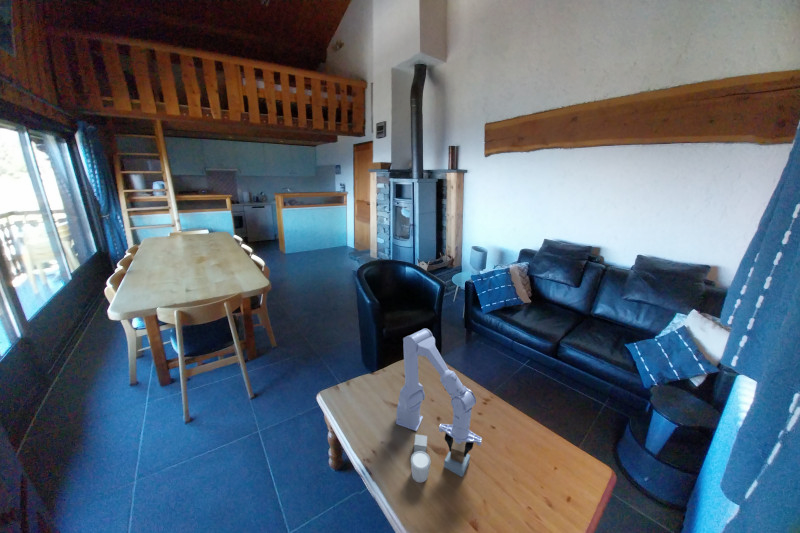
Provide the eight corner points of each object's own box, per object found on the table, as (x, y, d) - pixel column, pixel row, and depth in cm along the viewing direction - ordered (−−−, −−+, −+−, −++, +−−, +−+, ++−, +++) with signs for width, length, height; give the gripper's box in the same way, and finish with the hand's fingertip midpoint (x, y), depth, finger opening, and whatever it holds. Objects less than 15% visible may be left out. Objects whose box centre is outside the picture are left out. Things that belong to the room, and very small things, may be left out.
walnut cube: (450, 458, 107) (451, 448, 105) (453, 448, 110) (454, 437, 109) (462, 463, 105) (464, 452, 103) (465, 452, 109) (466, 442, 107)
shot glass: (424, 488, 101) (424, 473, 98) (406, 477, 104) (406, 462, 102) (433, 471, 106) (434, 457, 104) (416, 461, 110) (416, 447, 107)
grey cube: (413, 454, 112) (414, 444, 111) (415, 444, 116) (415, 434, 115) (425, 456, 112) (426, 446, 110) (426, 445, 116) (427, 435, 114)
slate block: (443, 467, 108) (444, 460, 107) (451, 452, 114) (452, 445, 112) (462, 478, 104) (463, 470, 103) (469, 462, 110) (470, 455, 109)
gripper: (437, 424, 102) (435, 453, 106) (481, 439, 96) (476, 469, 101) (443, 409, 108) (440, 437, 112) (484, 422, 103) (480, 452, 107)
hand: (458, 451), depth 107 cm, fingers closed on walnut cube, 4 cm apart
